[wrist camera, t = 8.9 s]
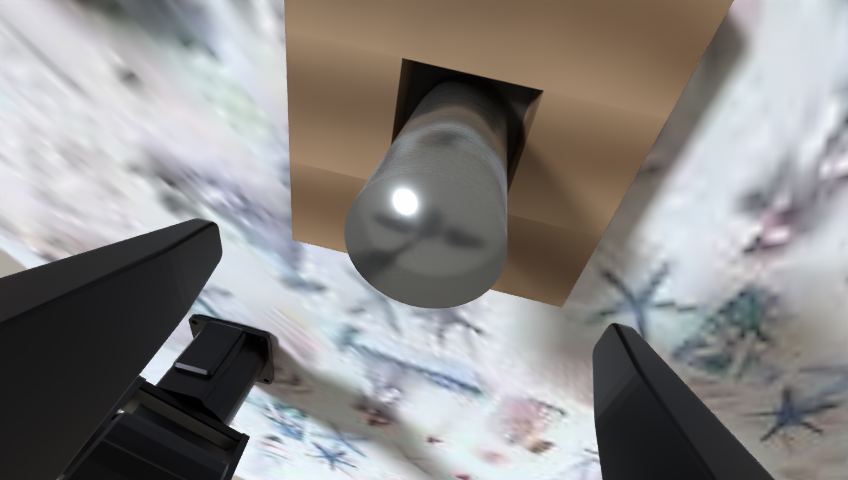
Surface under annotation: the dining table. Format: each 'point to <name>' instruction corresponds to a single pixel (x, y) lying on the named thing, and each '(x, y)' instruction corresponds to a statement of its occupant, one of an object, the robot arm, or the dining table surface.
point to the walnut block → (522, 94)
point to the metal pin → (437, 200)
